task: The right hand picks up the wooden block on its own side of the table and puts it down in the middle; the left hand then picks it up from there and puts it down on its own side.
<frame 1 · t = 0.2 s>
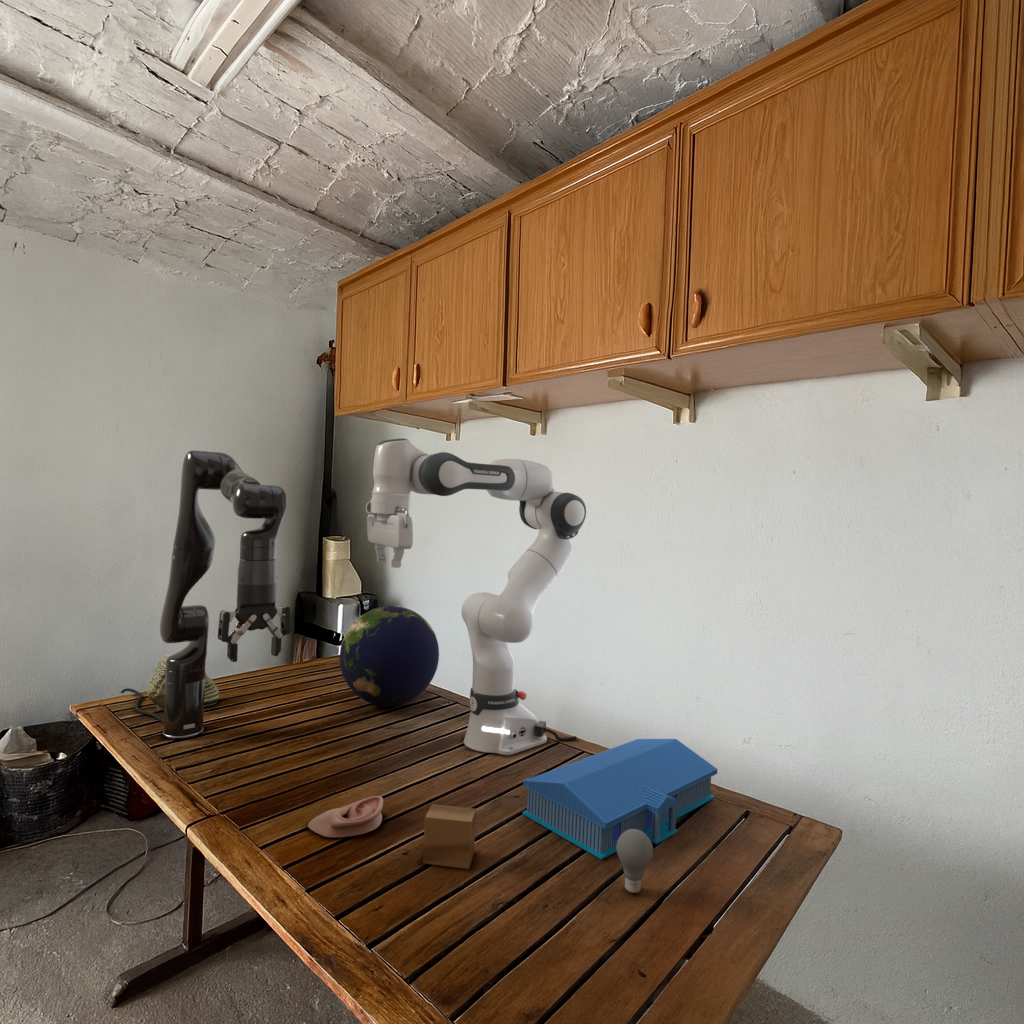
left hand: (254, 658, 132), 29 cm above the table, tool pointing down, fingers open, 8 cm apart
right hand: (388, 565, 150), 48 cm above the table, tool pointing down, fingers open, 8 cm apart
fossil: (183, 706, 185), on the table
block: (448, 858, 113), on the table
model building: (627, 809, 134), on the table
globe: (388, 704, 195), on the table
light bulb: (632, 891, 106), on the table
anatomical model: (345, 824, 123), on the table
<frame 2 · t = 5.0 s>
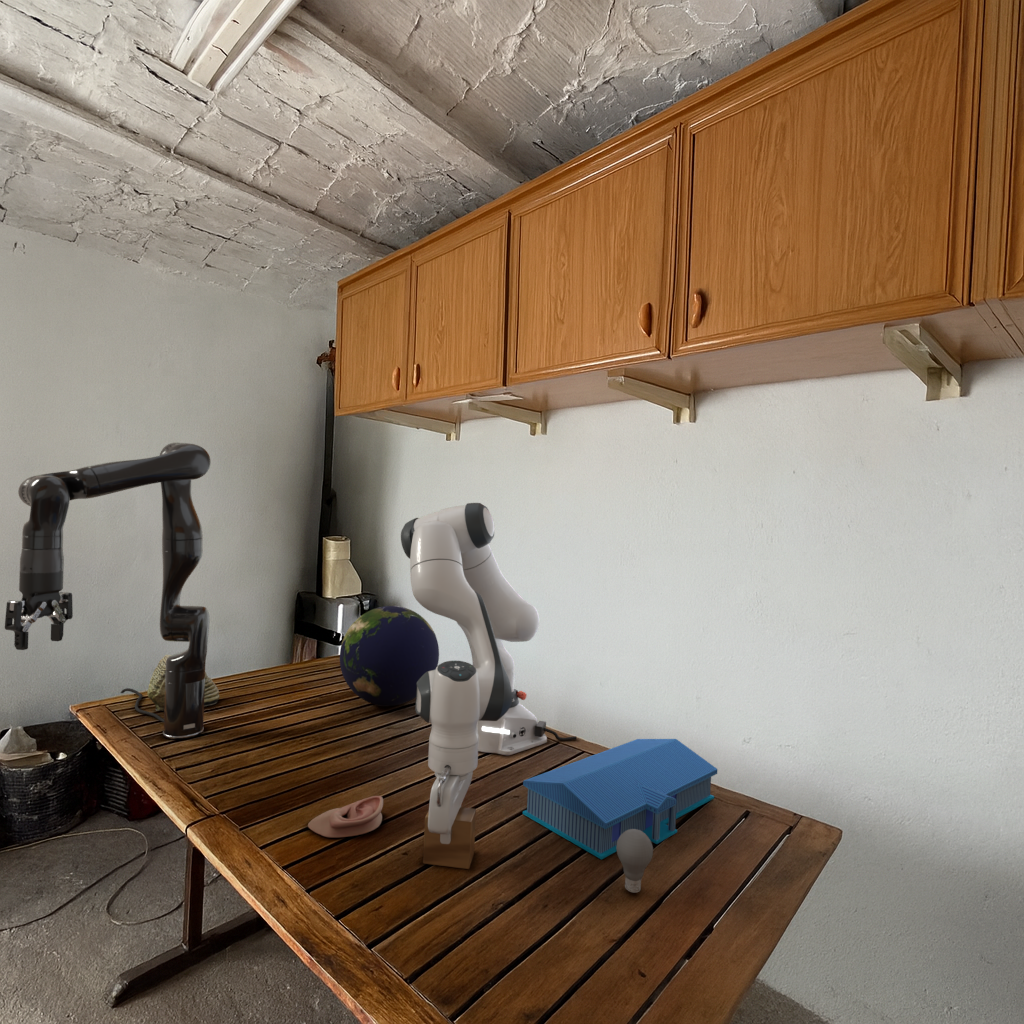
left hand: (39, 645, 135), 29 cm above the table, tool pointing down, fingers open, 8 cm apart
right hand: (450, 832, 113), 5 cm above the table, tool pointing down, fingers closed on block, 5 cm apart
block: (449, 858, 113), on the table, touching right hand
everything else where it was.
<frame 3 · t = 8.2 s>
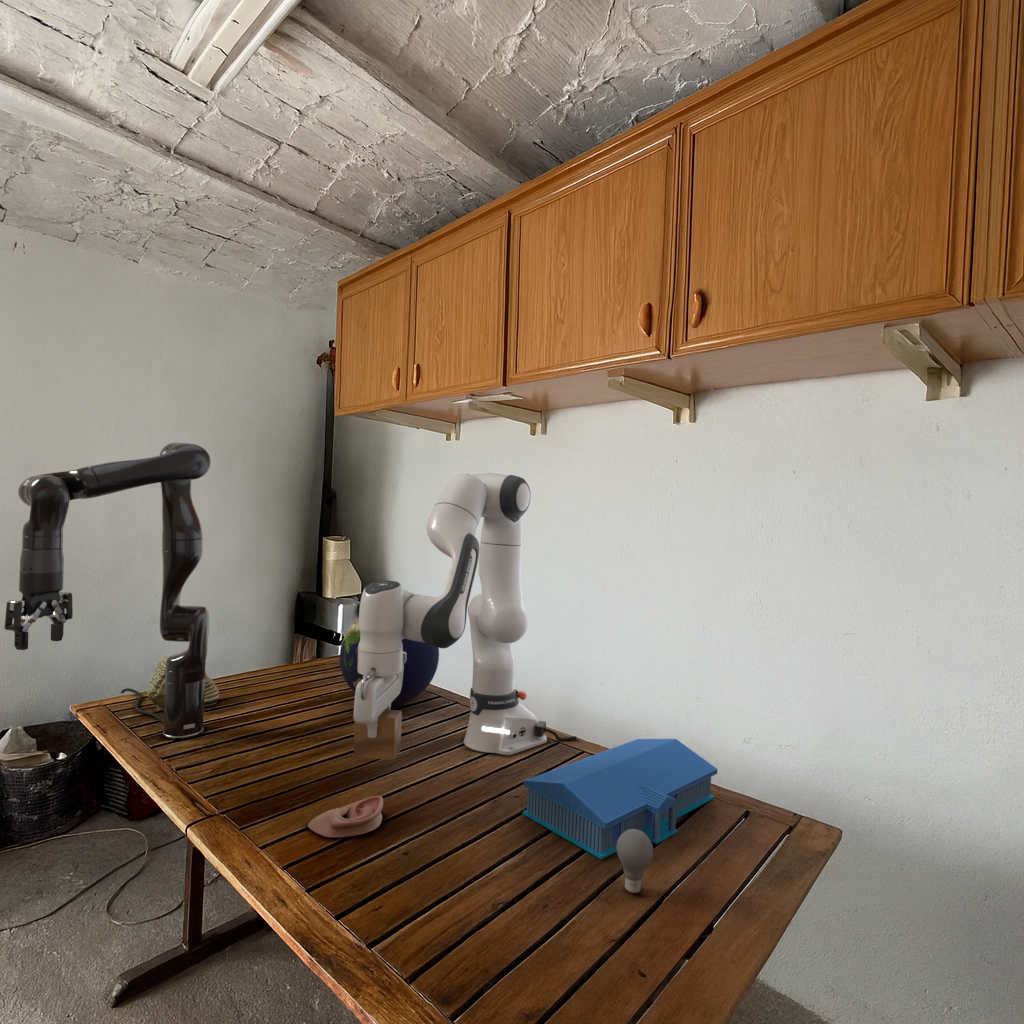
left hand: (39, 645, 135), 29 cm above the table, tool pointing down, fingers open, 8 cm apart
right hand: (378, 730, 128), 17 cm above the table, tool pointing down, fingers closed on block, 5 cm apart
block: (377, 753, 128), point 12 cm above the table, touching right hand
everything else where it was.
when the right hand's fingers open (6 cm above the table, at t = 11.6 s): block drops 1 cm, on the table.
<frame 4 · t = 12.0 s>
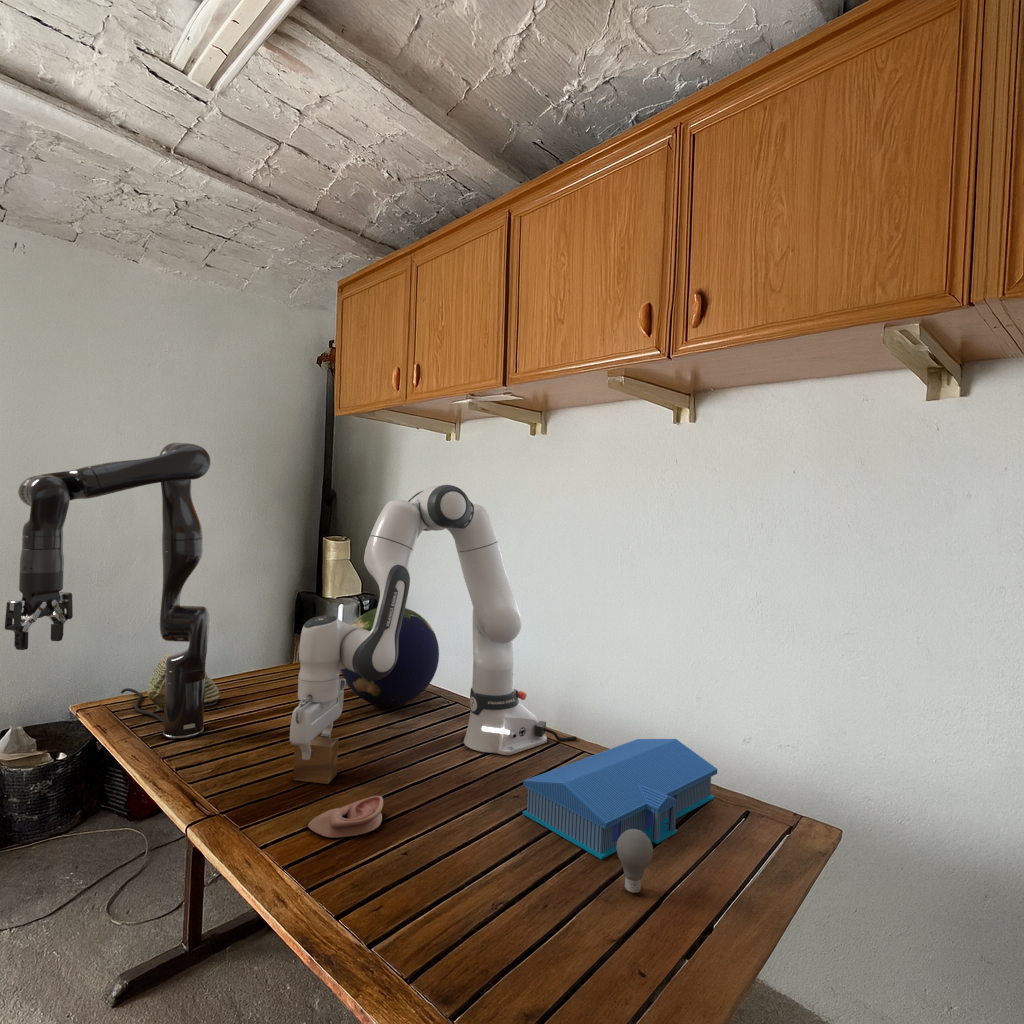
left hand: (39, 645, 135), 29 cm above the table, tool pointing down, fingers open, 8 cm apart
right hand: (316, 750, 142), 6 cm above the table, tool pointing down, fingers open, 8 cm apart
block: (315, 777, 143), on the table
everything else where it was.
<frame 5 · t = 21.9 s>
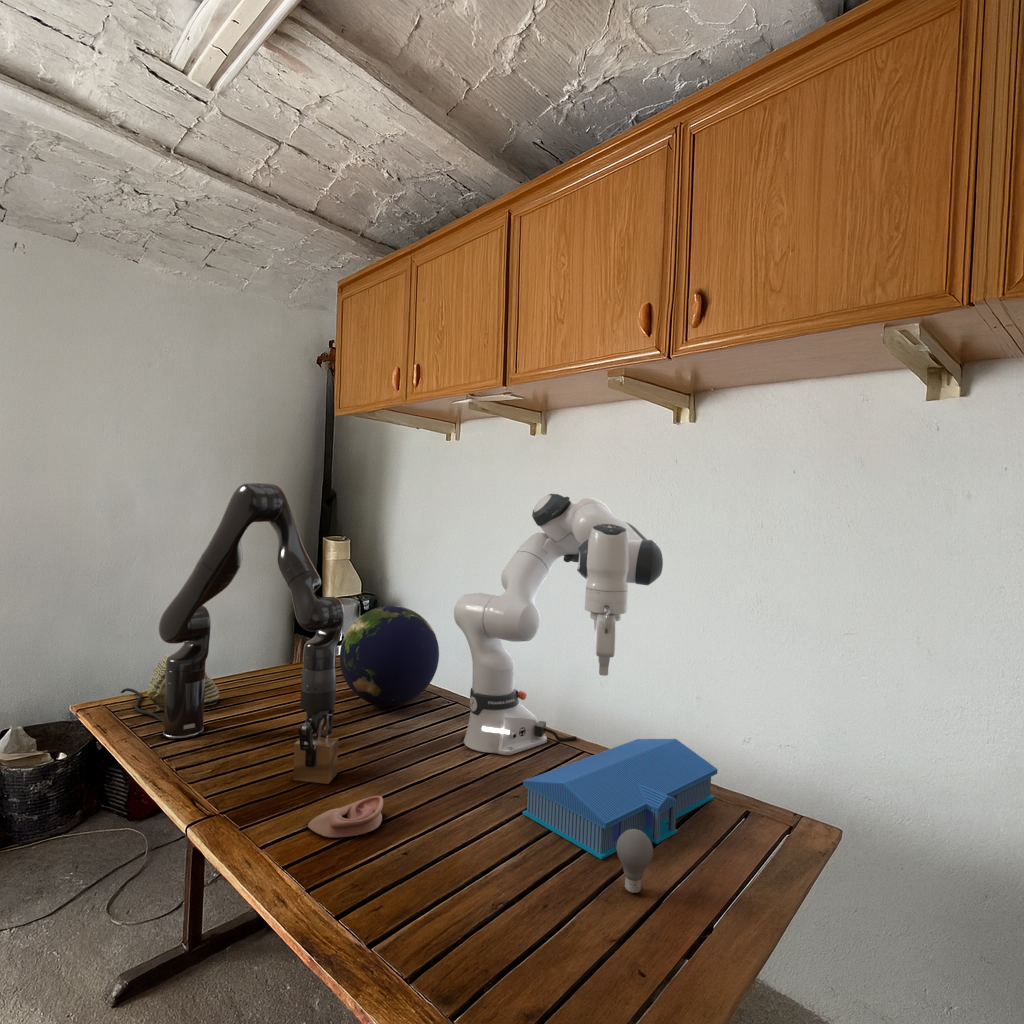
left hand: (315, 761, 143), 4 cm above the table, tool pointing down, fingers closed on block, 5 cm apart
right hand: (602, 668, 132), 30 cm above the table, tool pointing down, fingers open, 8 cm apart
block: (315, 777, 143), on the table, touching left hand
everything else where it was.
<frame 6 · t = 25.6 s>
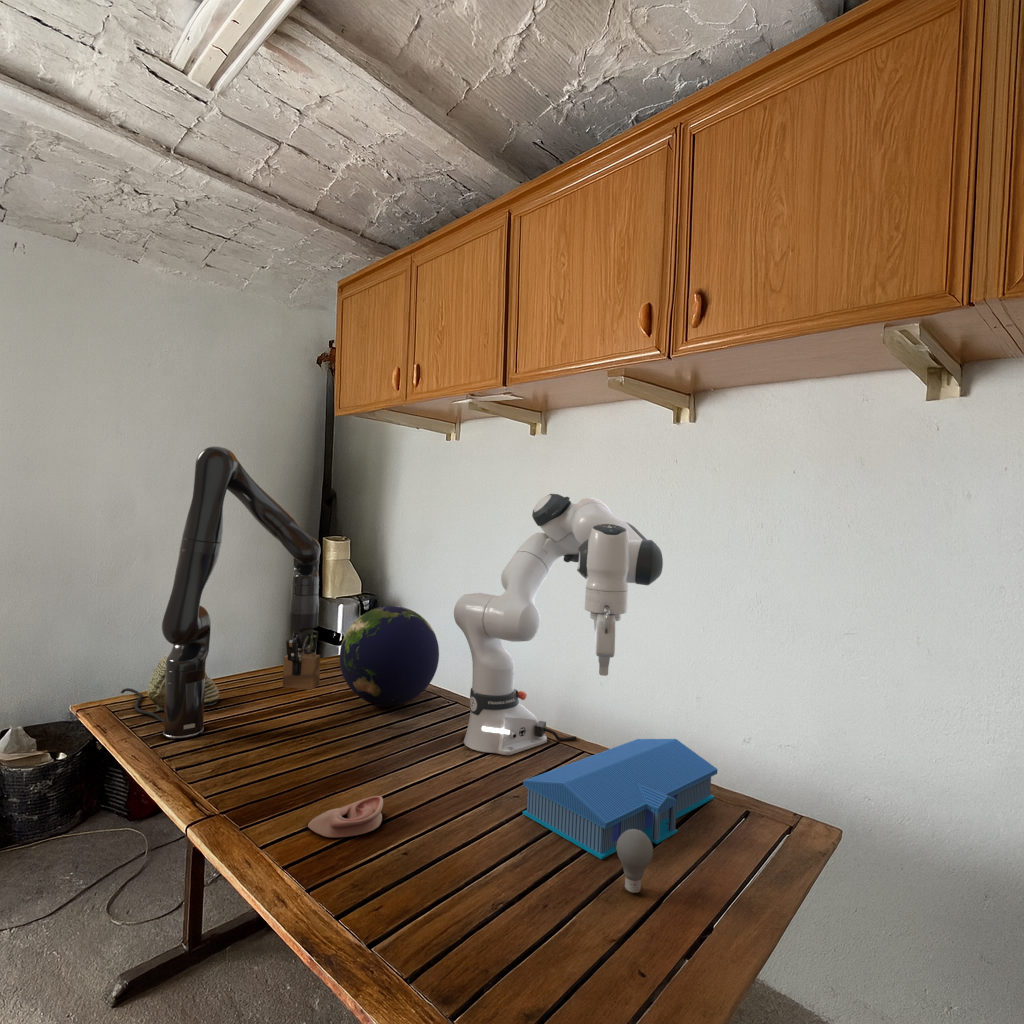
left hand: (301, 672, 172), 15 cm above the table, tool pointing down, fingers closed on block, 5 cm apart
right hand: (602, 668, 132), 30 cm above the table, tool pointing down, fingers open, 8 cm apart
block: (301, 686, 172), point 11 cm above the table, touching left hand
everything else where it was.
when the left hand's fingers open (5 cm above the table, at t = 29.4 s): block drops 1 cm, on the table.
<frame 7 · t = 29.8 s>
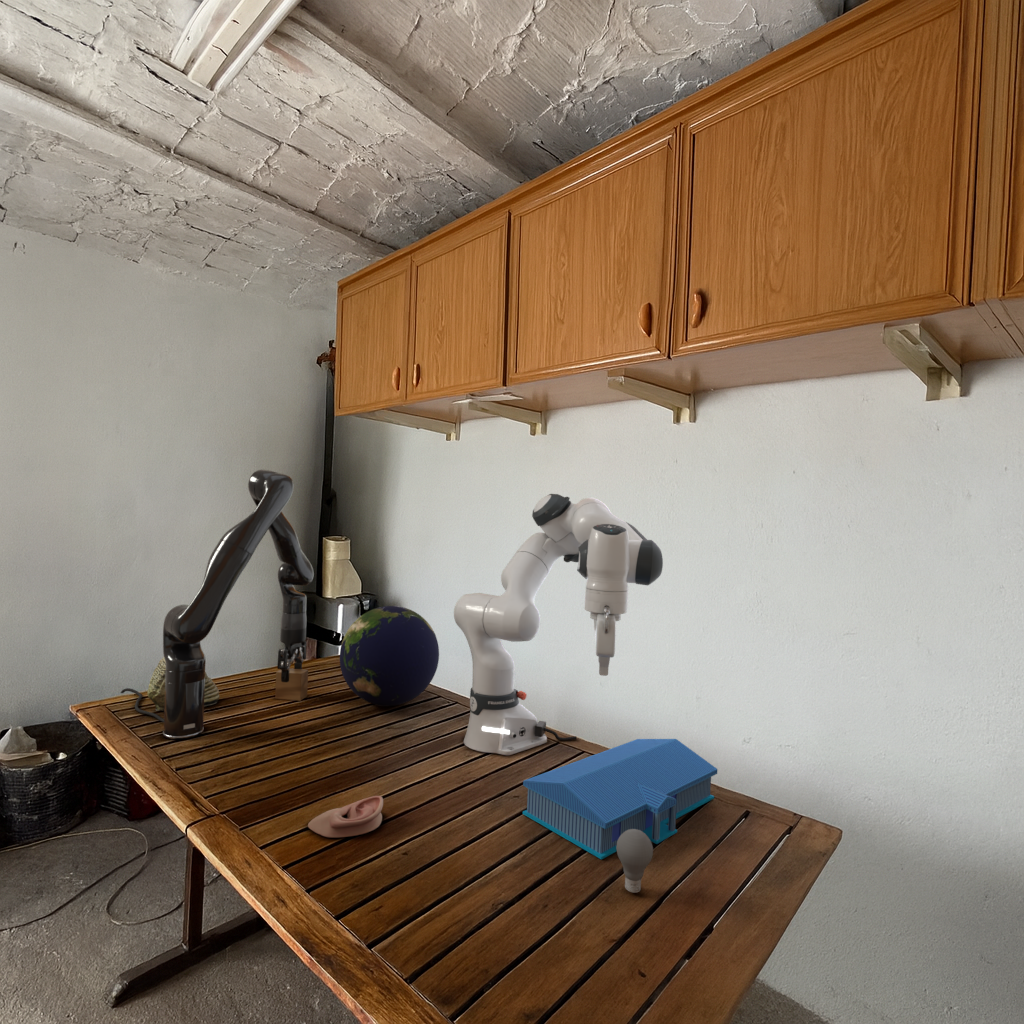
left hand: (291, 678, 197), 6 cm above the table, tool pointing down, fingers open, 8 cm apart
right hand: (602, 668, 132), 30 cm above the table, tool pointing down, fingers open, 8 cm apart
block: (291, 697, 197), on the table
everything else where it was.
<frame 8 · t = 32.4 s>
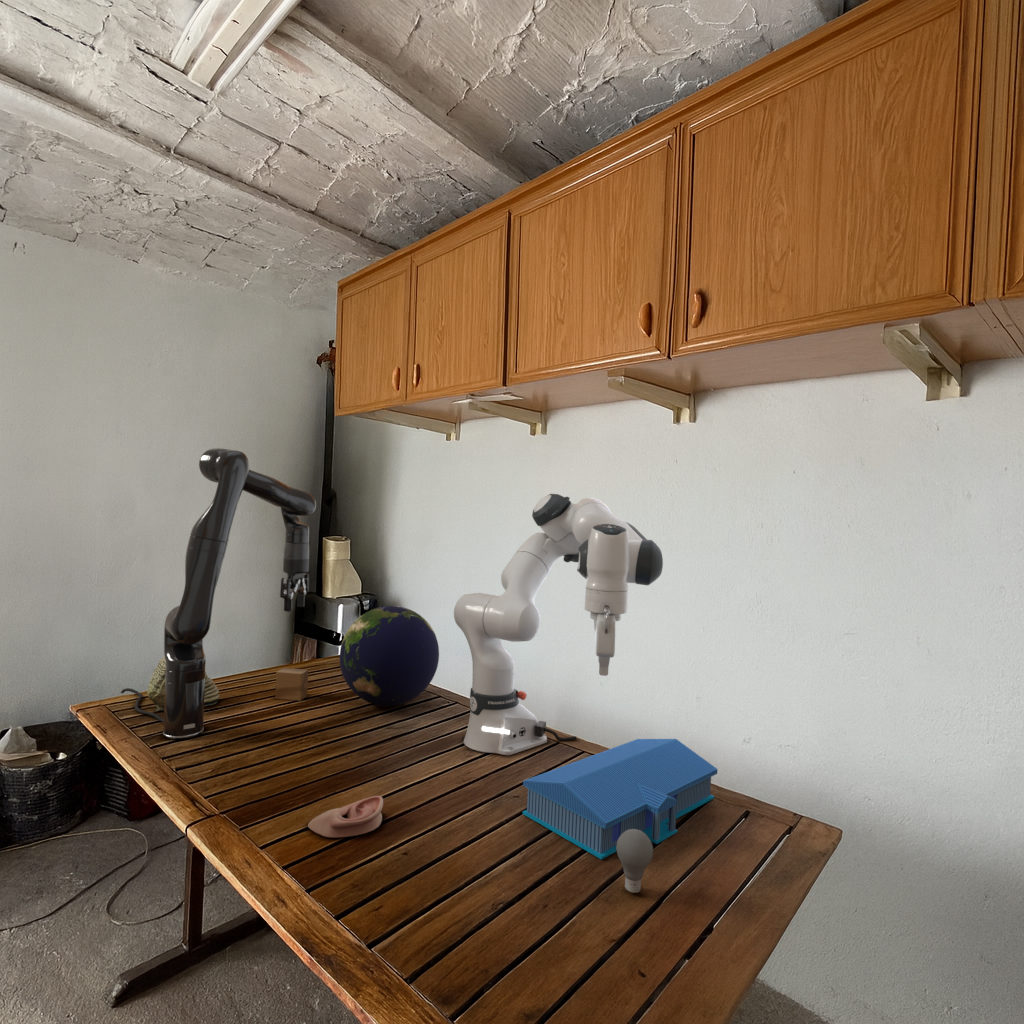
left hand: (294, 609, 197), 28 cm above the table, tool pointing down, fingers open, 8 cm apart
right hand: (602, 668, 132), 30 cm above the table, tool pointing down, fingers open, 8 cm apart
nothing on the table moved.
at the end: block inside the target area (0.2 cm from its centre), on the table; block tilted 0°; the two hands never held the block at the same time; the left hand is holding nothing; the right hand is holding nothing; block at rest at the end (0.0 cm/s) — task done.
